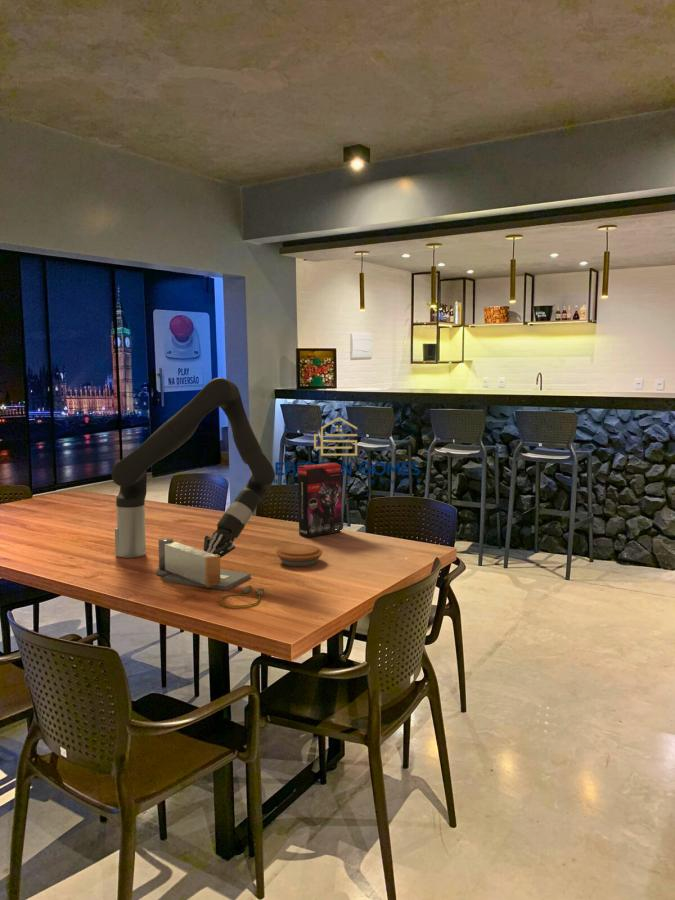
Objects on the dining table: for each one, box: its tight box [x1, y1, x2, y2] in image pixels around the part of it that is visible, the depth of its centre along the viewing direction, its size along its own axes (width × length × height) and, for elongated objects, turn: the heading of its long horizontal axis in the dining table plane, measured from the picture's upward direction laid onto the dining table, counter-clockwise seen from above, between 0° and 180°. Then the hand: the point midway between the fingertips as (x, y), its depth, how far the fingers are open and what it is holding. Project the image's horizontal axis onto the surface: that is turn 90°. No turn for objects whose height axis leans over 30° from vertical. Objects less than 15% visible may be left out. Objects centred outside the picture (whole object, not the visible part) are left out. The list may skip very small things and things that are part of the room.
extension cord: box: [218, 585, 265, 610], centre depth 189 cm, size 12×16×2 cm
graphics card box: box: [297, 462, 343, 538], centre depth 265 cm, size 17×7×27 cm, turn 128°
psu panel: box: [156, 567, 252, 591], centre depth 208 cm, size 29×14×1 cm, turn 67°
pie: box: [275, 543, 323, 568], centre depth 227 cm, size 16×16×5 cm
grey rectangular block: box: [158, 537, 221, 588], centre depth 204 cm, size 27×4×9 cm, turn 46°
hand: (203, 566), depth 203 cm, fingers closed
